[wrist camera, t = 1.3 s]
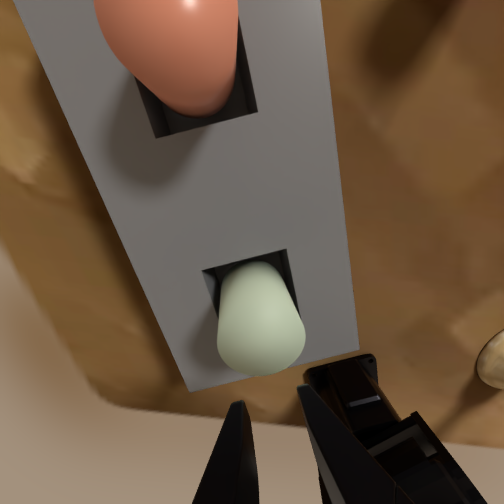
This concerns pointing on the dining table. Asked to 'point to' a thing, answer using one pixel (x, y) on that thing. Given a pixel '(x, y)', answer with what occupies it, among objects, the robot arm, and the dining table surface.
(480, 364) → the hand bell
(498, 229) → the dining table surface
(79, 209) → the dining table surface
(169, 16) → the terracotta plug
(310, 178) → the console
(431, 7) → the dining table surface
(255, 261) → the sage plug
